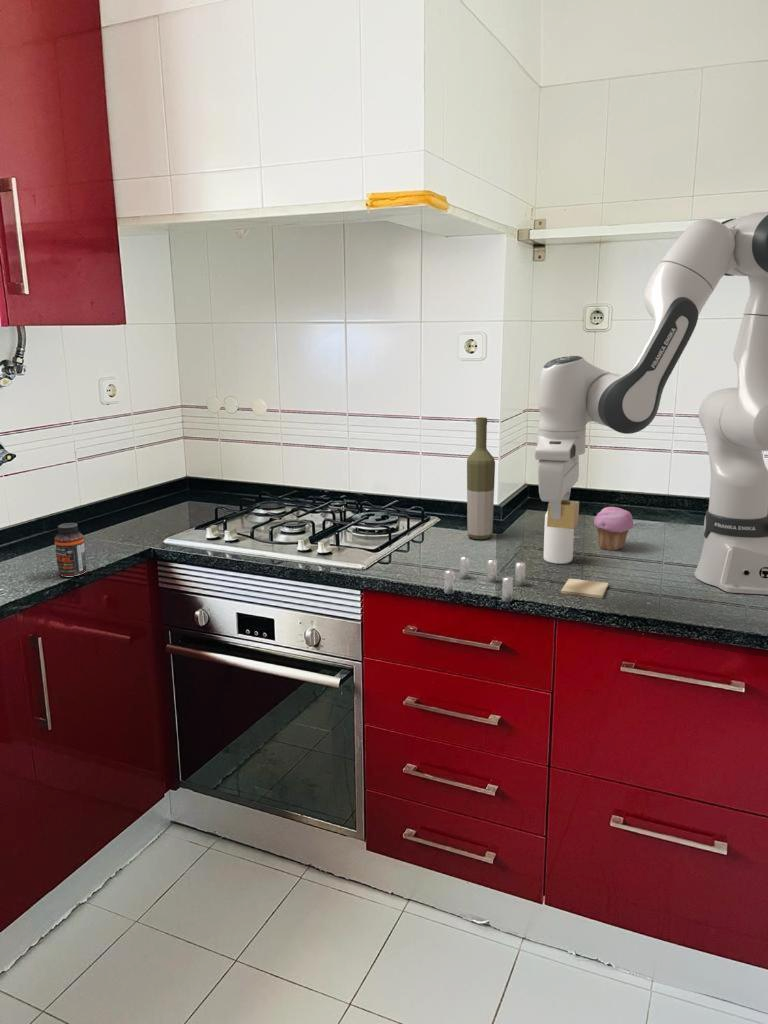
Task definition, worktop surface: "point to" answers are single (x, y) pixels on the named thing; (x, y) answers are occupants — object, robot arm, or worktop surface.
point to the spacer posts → (491, 577)
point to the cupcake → (613, 527)
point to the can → (558, 544)
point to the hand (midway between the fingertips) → (559, 514)
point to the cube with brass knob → (565, 515)
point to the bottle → (480, 486)
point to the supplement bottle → (70, 550)
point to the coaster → (584, 588)
